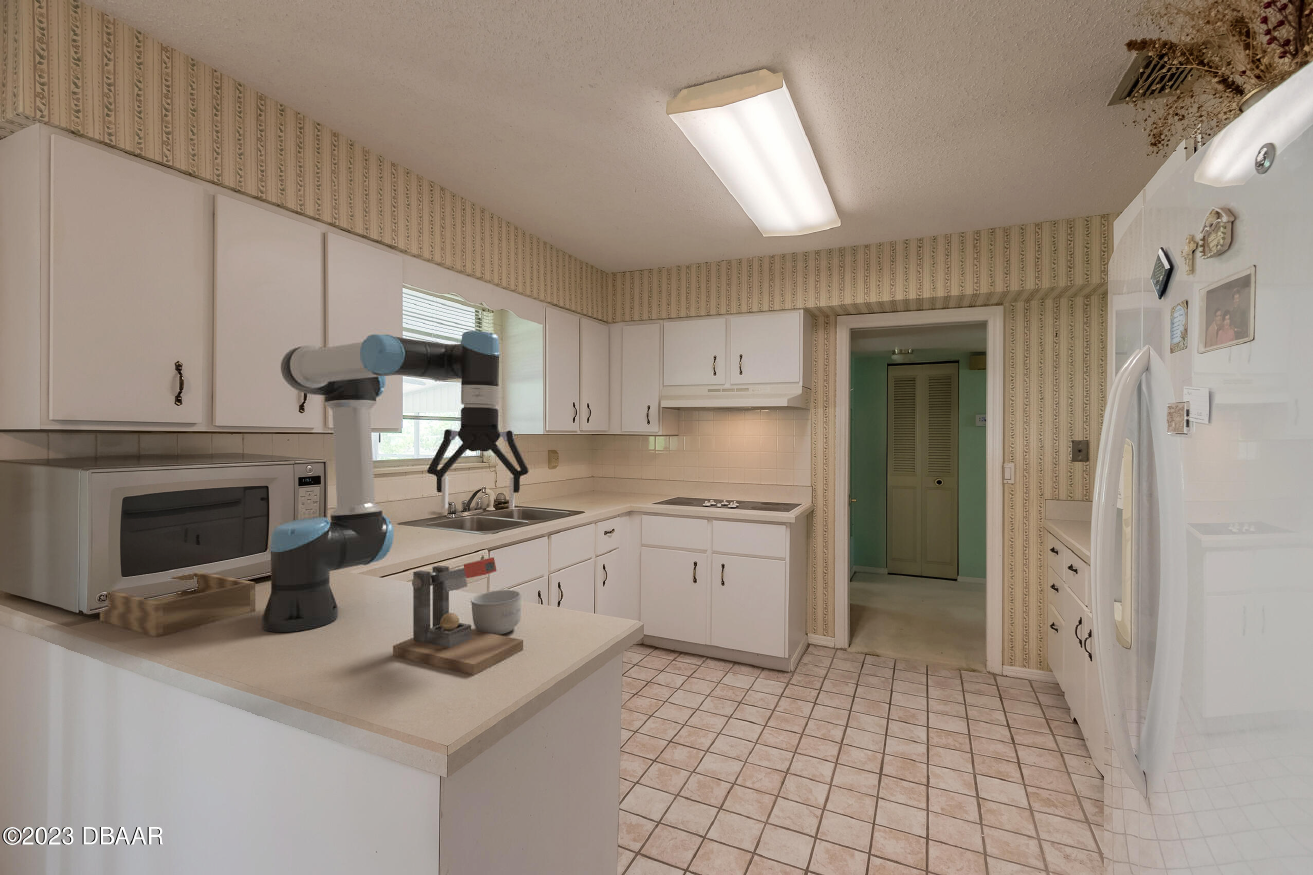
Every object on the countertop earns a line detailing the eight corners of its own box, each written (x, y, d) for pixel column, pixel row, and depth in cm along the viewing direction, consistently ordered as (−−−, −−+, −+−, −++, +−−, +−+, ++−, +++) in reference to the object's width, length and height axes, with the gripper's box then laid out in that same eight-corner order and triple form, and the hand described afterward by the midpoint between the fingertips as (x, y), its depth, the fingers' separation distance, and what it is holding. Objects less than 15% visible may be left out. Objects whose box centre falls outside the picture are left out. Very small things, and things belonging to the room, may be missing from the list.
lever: (423, 596, 121) (419, 573, 121) (435, 592, 124) (431, 570, 124) (487, 583, 114) (482, 560, 114) (498, 580, 117) (493, 557, 117)
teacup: (508, 641, 126) (508, 603, 126) (461, 637, 128) (461, 600, 128) (534, 620, 139) (534, 586, 139) (491, 617, 142) (491, 583, 142)
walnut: (436, 632, 119) (436, 614, 119) (449, 626, 123) (449, 609, 123) (449, 634, 118) (449, 616, 118) (462, 629, 121) (462, 611, 121)
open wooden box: (100, 620, 138) (99, 590, 138) (199, 598, 156) (199, 571, 156) (156, 636, 127) (155, 604, 127) (255, 610, 145) (255, 582, 145)
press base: (392, 655, 117) (392, 574, 117) (446, 633, 130) (446, 560, 130) (474, 675, 108) (474, 587, 108) (523, 649, 121) (523, 571, 121)
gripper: (412, 404, 118) (411, 510, 119) (539, 407, 122) (537, 510, 122) (422, 405, 126) (421, 505, 126) (541, 408, 129) (540, 505, 129)
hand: (478, 508), depth 124 cm, fingers open, 13 cm apart
